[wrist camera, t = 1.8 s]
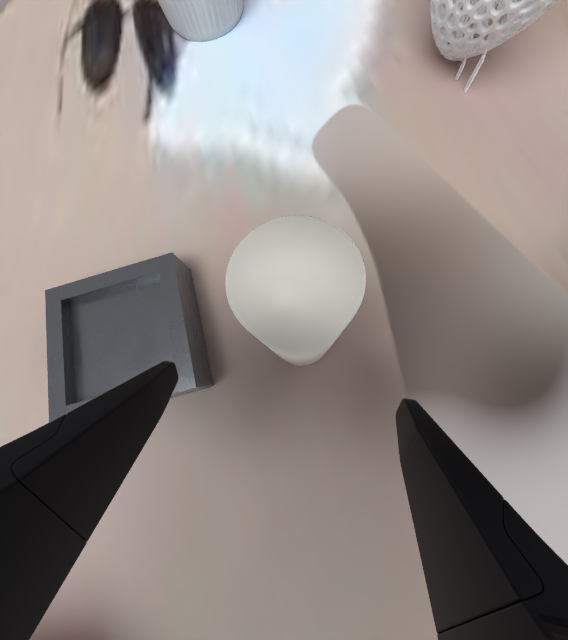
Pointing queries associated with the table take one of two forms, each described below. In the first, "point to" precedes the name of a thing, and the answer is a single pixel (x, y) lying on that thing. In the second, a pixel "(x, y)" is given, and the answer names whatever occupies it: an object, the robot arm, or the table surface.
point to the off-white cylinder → (296, 286)
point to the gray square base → (123, 331)
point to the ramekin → (202, 17)
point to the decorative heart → (479, 26)
